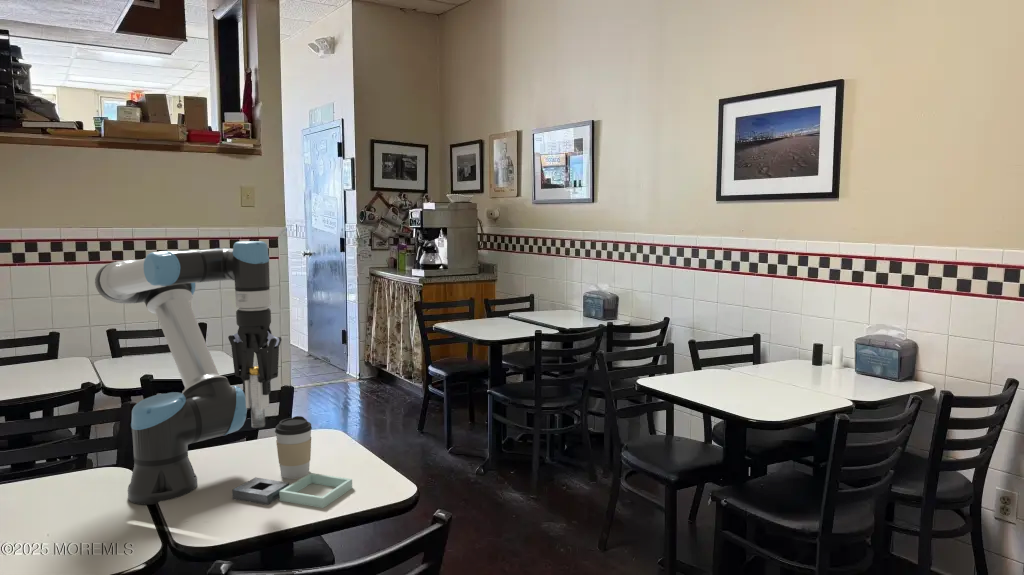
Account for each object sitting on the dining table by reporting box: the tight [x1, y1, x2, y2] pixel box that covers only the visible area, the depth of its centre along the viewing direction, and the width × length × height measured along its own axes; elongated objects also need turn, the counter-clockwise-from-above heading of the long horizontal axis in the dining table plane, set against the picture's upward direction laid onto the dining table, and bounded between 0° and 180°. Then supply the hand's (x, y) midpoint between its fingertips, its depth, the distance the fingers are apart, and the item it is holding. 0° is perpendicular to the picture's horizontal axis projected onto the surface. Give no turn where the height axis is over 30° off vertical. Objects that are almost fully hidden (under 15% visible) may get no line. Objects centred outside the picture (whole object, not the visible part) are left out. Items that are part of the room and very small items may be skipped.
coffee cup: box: [274, 415, 313, 480], centre depth 176 cm, size 9×9×15 cm
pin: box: [249, 365, 266, 429], centre depth 161 cm, size 3×3×14 cm
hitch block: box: [231, 476, 291, 506], centre depth 163 cm, size 10×8×3 cm
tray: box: [279, 472, 353, 509], centre depth 164 cm, size 12×12×3 cm
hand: (257, 407), depth 161 cm, fingers closed on pin, 3 cm apart
